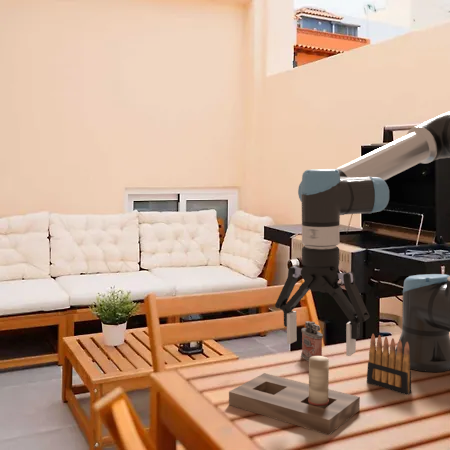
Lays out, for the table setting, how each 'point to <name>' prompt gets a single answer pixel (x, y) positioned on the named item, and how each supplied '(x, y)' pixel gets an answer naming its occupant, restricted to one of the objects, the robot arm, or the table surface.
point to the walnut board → (293, 403)
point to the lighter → (311, 340)
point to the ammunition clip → (389, 366)
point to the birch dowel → (318, 381)
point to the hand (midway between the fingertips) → (320, 348)
